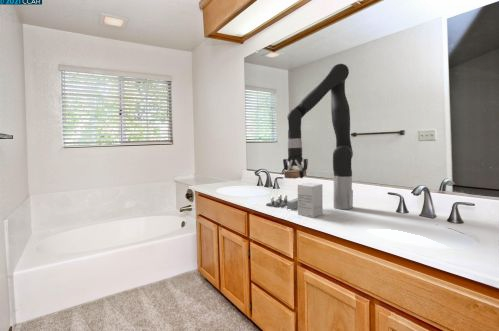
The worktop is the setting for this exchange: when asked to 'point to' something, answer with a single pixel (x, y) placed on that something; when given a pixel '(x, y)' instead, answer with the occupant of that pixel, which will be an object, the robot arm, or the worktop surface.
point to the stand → (292, 204)
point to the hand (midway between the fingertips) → (295, 177)
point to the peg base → (278, 201)
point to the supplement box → (310, 199)
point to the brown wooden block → (294, 173)
